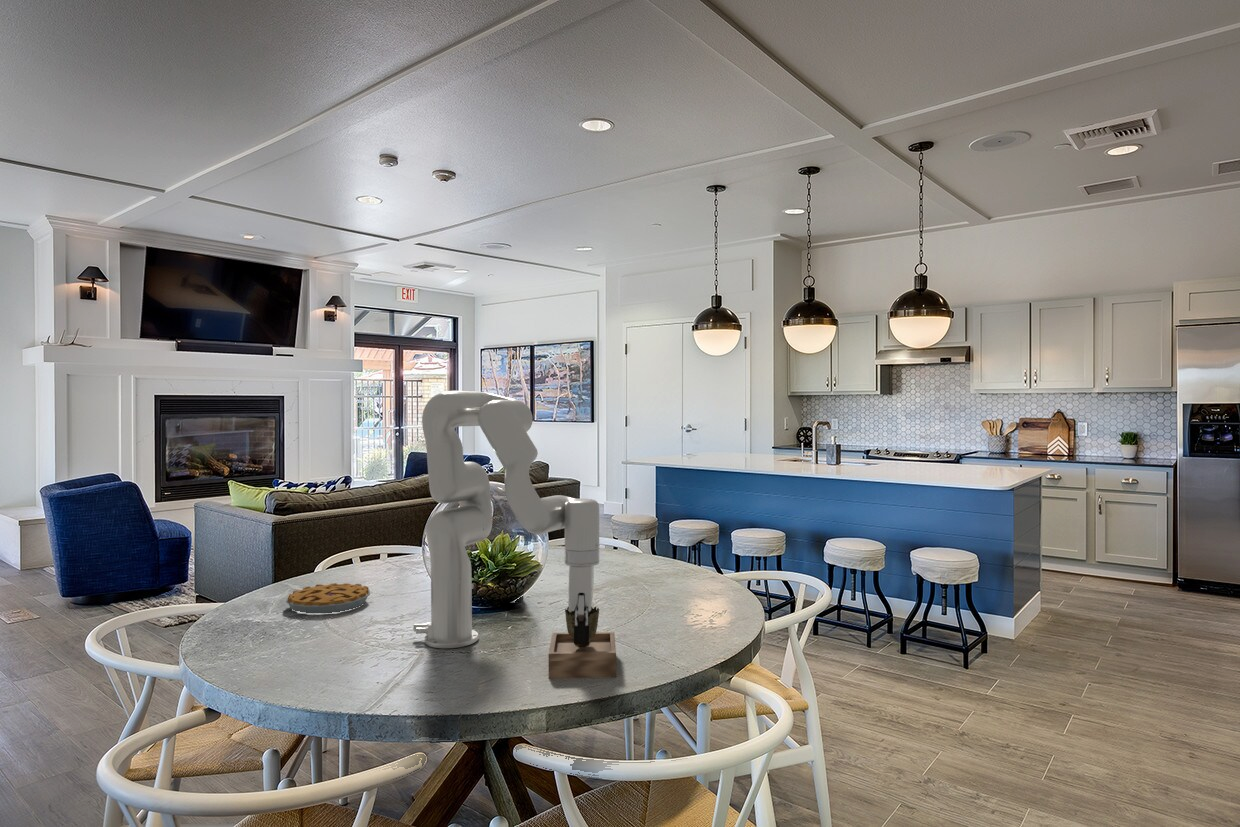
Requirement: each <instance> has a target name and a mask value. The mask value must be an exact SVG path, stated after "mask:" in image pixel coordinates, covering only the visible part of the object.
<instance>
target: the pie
mask: <svg viewBox="0 0 1240 827" xmlns="http://www.w3.org/2000/svg"><path fill="white" fill-rule="evenodd" d="M370 595H371V590H370V589H369V587H368V586H366V585H364V586H362V583H361V584H360V583H356V584H351V583H345V582H344V583H342V584H341V583H340V584H339V583H337V582H336V583H335V582H334V583H330V584H315V586H313V587H312V586H305V587H303V588H302V589H301V590H300V589H299V590H293V592H292V593H289V594H288V596H287V598H286V601H285V602H286V604H288V606H289V607H290V610H291V609H293V610H295V611H300V612H306V613H332V612H340V611H345V610H349V609H353V608H356V607H359V606H361V605H362V604H364V605H365V604H366V601H367V599H368V597H369V596H370ZM362 606H363V605H362ZM362 606H361V607H362ZM359 608H360V607H359Z"/></svg>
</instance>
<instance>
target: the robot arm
mask: <svg viewBox="0 0 1240 827" xmlns="http://www.w3.org/2000/svg"><path fill="white" fill-rule="evenodd" d="M533 417H534V416H533V414H532V411H531V408H530V407H529V406H528V405H527V404H526V403H525V402H524V401H522V400H518V399H515V398H510V397H506V396H502V395H499V394H495V393H490V392H487V391H486V392H485V391H475V390H474V391H472V390H471V391H470V390H469V391H466V390H450V391H449V390H447V391H442V392H440V393H437V394H435V395H433V396H432V397H431V398H430V399H429V400H428V401H427V402H426V404H425V406H424V408H423V411H422V416H421V424H422V432H423V436H424V441H425V447H426V462H427V474H428V475H427V476H428V486H429V492H430V496H431V498H432V499H433V500H434V501H435V502H436V503H439V504H453V503H454V504H455V503H459V504H458V505H459V506H458V507H452V508H448V509H447V508H446V509H444V510H443V509H442V510H440V511H438V512H436V513H434V514H433V515H432V516H431V517H430V518H429V520H428V522H427V523H426V528H425V533H426V537H425V538H426V541H427V546H428V551H429V560H430V561H429V562H430V608H431V609H430V621H428V622H426V623H421V622H420V623H419V622H417V623H416V622H415V623H413V626H412V627H413V628H412V630H413V632H414V633H416V635H417V634H425V637H424V643H425V645H427V646H428V647H430V648H434V649H436V648H437V649H456V648H462V647H463V648H464V647H467V646H470V645H472V644H474V643H476V642H477V641H478V640H479V633H478V632H477V631H476V630H474V629H473V627H472V626H473V623H472V622H473V618H472V617H473V614H472V613H473V608H472V607H473V606H472V601H473V600H472V597H473V596H472V594H473V593H472V591H473V590H472V589H473V588H472V564H471V559H470V557H469V554H468V552H467V550H466V546H469V545H470V546H472V545H473V544H476V543H480V542H483V541H485V539H487V538H488V536H490V534H491V531H492V528H493V512H492V498H491V496H492V495H491V486H490V485H491V484H490V479H489V475H488V473H487V472H486V470H485V468H484V467H483V466H482V465H481V464H479V463H477V462H475V461H465V460H464V458H465V457H464V451H463V450H464V449H463V448H464V447H463V443H462V440H461V438H460V436H459V435H458V433H457V431H456V428H458V427H480V429H481V431H482V432H483V434H484V436H485V438H486V441H488V444H489V445H490V447H491V448H492V450H493V451H494V453H495V455H496V457H497V459H498V460H499V462H500V464H501V465H502V468H503V469H504V478H503V479H504V480H503V482H504V483H503V484H504V492H505V497H506V498H505V499H506V500H507V503H508V506H509V507H510V509H511V510H512V513H513V514H514V516H515V517H516V519H517V521H518V522H519V524H520V525H521V526H522V528H524V529H525V530H526V531H527V532H528V533H530V534H533V535H543V534H546V533H550V532H554V531H557V530H559V531H560V530H562V529H564V565H566V566H569V568H568V607H569V612H570V613H571V612H572V611H574V610H575V625H574V644H575V645H588V644H589V625H588V612H590V611H591V607H592V608H593V599H594V598H593V597H594V580H595V579H594V578H595V577H594V575H595V574H594V572H595V569H594V568H595V566H597V565H599V564H600V505H599V502H598V501H597V500H596V499H592V498H575V497H571V496H567V495H563V494H562V495H561V494H560V495H559V494H558V495H556V494H555V495H551V496H546V497H540V496H539V494H538V492H537V490H536V489H535V488H534V485H533V483H532V481H531V478H530V467H531V465H532V464H533V463H534V462H535V461H536V459H537V457H538V454H539V453H538V449H537V447H536V445H535V444H534V442H533V441H532V439H531V437H530V436H529V434H528V432H529V430H531V427H532V425H533ZM584 608H586V611H584ZM577 610H578V611H577ZM584 614H586V616H584ZM585 620H586V621H585Z"/></svg>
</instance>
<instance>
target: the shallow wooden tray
mask: <svg viewBox="0 0 1240 827" xmlns="http://www.w3.org/2000/svg"><path fill="white" fill-rule="evenodd" d="M590 641H591V643H590V645H589V646H587V647H577V646H575V645H574V639H573V638H572V637H571V636H570V635H569V633H568V632H552V634H551V640H550V643H549V644H550V645H549V648H548V649H549V650H548V679H588V678H589V679H591V678H592V679H594V678H595V679H596V678H600V679H602V678H603V679H604V678H605V679H606V678H607V679H608V678H617V650H616V649H617V648H616V647H617V646H616V637H615V631H598V632H597V631H596V633H595V635H594V636H593V637H592V638H591V639H590Z"/></svg>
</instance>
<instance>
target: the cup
mask: <svg viewBox="0 0 1240 827" xmlns="http://www.w3.org/2000/svg"><path fill="white" fill-rule="evenodd" d="M564 610H565V611H564V613H565V623H566V630H567V633H569V635H570V636H571V637H572V638H573V639H574V625H575V610H574V611H572V612H571V613H570V612H569V606H567V608H565V609H564ZM577 611H578V610H577ZM584 611H586V608H584ZM599 615H600V608H599V607H597V606H594V607H593V606H592V607H591V611H590V612H588V625H589V644H588V645H575V644H574V645H575V646H577V647H587V646H589V645H590V643H591V641H590V639H591V638H592V637H593V636H594V635H595V633H596V632H597V630H598V623H599ZM584 616H586V614H584ZM585 621H586V620H585Z"/></svg>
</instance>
